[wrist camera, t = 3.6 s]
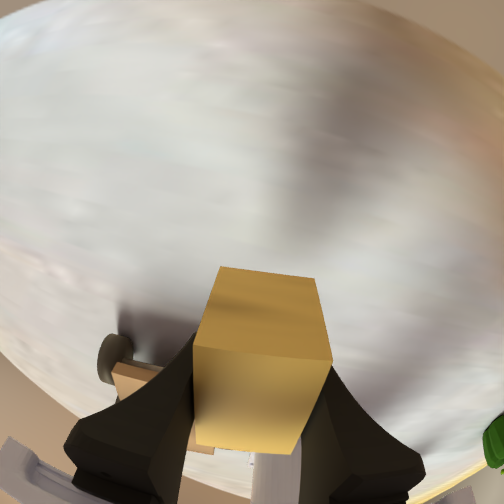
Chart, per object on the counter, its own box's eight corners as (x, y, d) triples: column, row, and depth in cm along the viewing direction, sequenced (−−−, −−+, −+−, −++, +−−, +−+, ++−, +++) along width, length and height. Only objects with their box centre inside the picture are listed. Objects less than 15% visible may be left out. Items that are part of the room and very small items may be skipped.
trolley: (235, 423, 27) (230, 460, 23) (133, 402, 28) (119, 435, 23) (247, 348, 23) (241, 393, 18) (115, 323, 23) (90, 360, 19)
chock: (286, 382, 15) (287, 460, 11) (213, 373, 15) (196, 450, 11) (314, 278, 12) (332, 361, 8) (220, 266, 13) (192, 344, 8)
